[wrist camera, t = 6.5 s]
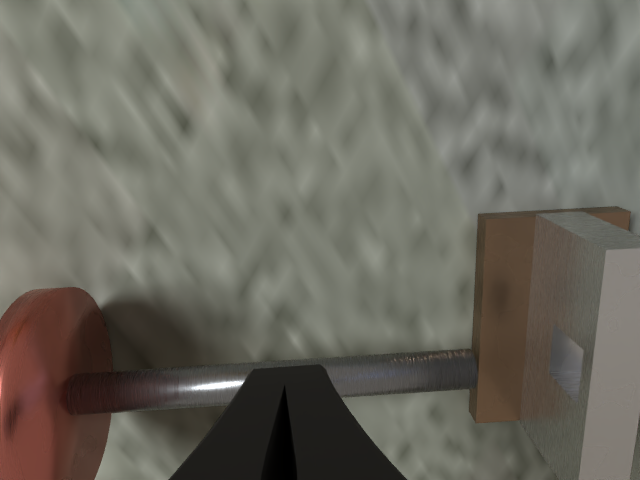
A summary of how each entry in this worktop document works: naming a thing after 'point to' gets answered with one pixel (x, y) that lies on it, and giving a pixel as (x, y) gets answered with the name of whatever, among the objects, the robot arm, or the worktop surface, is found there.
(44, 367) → the red wheel with axle
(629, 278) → the eye bracket
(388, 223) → the worktop surface
